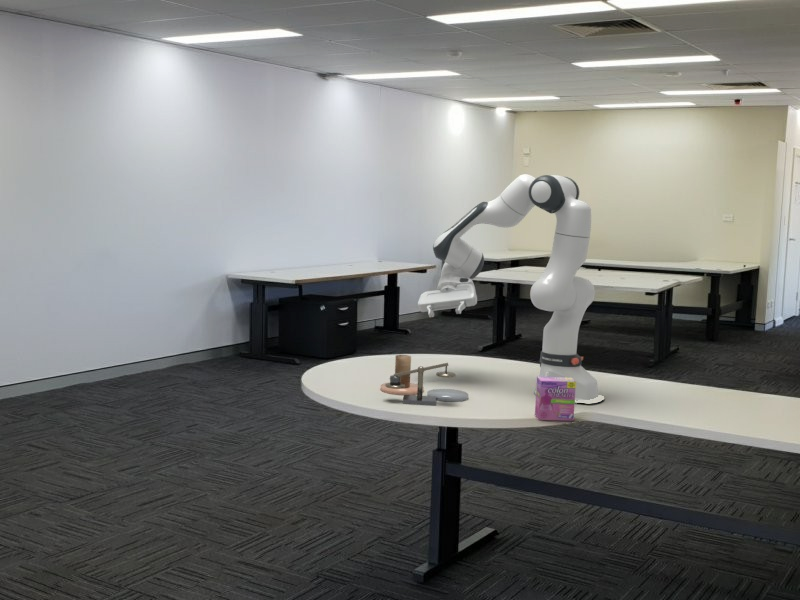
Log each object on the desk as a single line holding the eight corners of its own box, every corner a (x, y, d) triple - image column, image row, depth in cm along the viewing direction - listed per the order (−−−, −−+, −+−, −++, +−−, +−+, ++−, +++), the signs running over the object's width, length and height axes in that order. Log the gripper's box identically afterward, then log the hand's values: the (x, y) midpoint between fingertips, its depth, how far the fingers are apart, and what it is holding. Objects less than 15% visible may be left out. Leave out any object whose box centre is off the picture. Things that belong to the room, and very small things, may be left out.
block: (412, 386, 273) (414, 356, 272) (404, 388, 269) (405, 358, 268) (399, 384, 276) (401, 354, 275) (391, 386, 272) (392, 356, 271)
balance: (454, 401, 260) (456, 361, 259) (454, 406, 253) (456, 365, 252) (385, 397, 261) (387, 357, 260) (384, 402, 254) (385, 361, 253)
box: (538, 420, 241) (540, 380, 240) (534, 415, 246) (536, 376, 245) (574, 421, 241) (576, 381, 240) (569, 416, 247) (572, 377, 246)
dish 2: (475, 396, 268) (475, 393, 267) (455, 403, 257) (455, 400, 257) (440, 390, 275) (440, 387, 275) (419, 397, 264) (419, 393, 264)
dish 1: (431, 390, 275) (431, 386, 275) (408, 397, 263) (408, 393, 263) (396, 383, 282) (396, 380, 282) (372, 390, 271) (372, 386, 271)
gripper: (419, 285, 291) (412, 310, 281) (476, 278, 285) (471, 303, 274) (423, 299, 295) (417, 324, 284) (480, 292, 288) (475, 317, 278)
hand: (444, 314), depth 279 cm, fingers open, 8 cm apart
